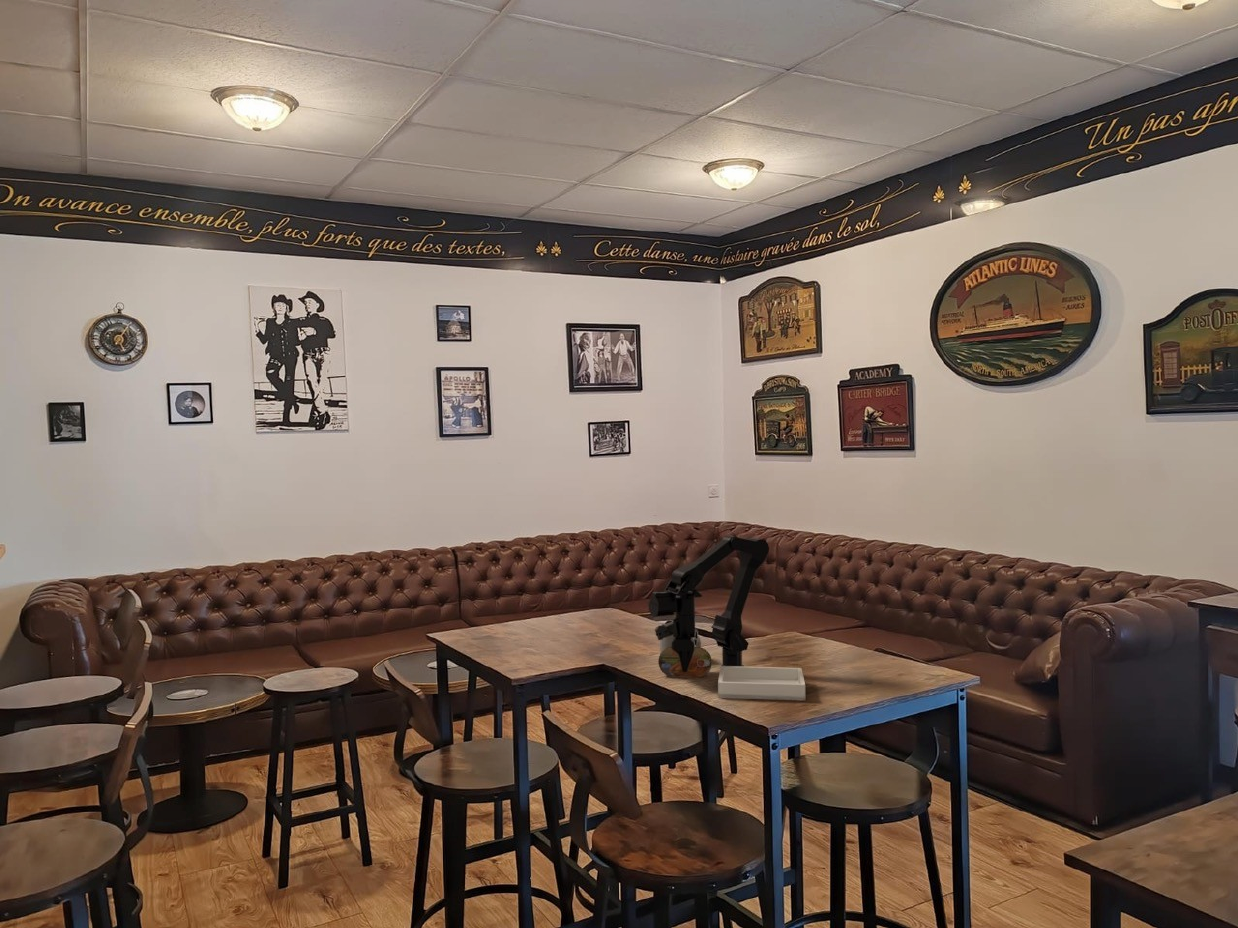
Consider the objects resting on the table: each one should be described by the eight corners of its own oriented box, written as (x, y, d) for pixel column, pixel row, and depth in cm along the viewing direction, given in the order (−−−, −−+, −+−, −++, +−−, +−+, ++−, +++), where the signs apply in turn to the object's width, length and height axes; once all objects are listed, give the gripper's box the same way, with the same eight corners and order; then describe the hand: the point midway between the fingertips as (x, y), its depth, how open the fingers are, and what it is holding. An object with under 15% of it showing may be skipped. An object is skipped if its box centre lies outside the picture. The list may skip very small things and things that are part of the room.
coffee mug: (653, 658, 277) (653, 626, 277) (675, 653, 284) (675, 621, 284) (685, 665, 267) (684, 632, 267) (707, 660, 274) (707, 627, 274)
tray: (720, 680, 250) (720, 665, 250) (801, 682, 247) (801, 667, 247) (718, 697, 232) (718, 682, 232) (805, 700, 229) (805, 684, 229)
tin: (658, 676, 255) (658, 646, 255) (659, 673, 258) (659, 644, 258) (711, 678, 253) (711, 648, 252) (712, 675, 256) (712, 645, 256)
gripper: (659, 607, 266) (660, 660, 266) (653, 619, 247) (653, 676, 247) (697, 608, 264) (698, 661, 264) (693, 620, 246) (694, 677, 246)
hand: (685, 668), depth 255 cm, fingers open, 7 cm apart
